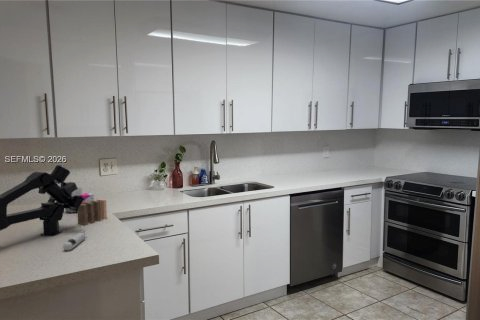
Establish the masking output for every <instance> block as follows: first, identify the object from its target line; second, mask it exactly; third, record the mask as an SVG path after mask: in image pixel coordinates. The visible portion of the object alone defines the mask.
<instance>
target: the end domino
mask: <svg viewBox="0 0 480 320" xmlns="http://www.w3.org/2000/svg"><path fill="white" fill-rule="evenodd" d="M96 201H100V214H101V220H104V219H105V220H107V219H108V218H107V217H108V215H107V200H106V199H104V198H102V199H101V198H99V199H96Z"/></svg>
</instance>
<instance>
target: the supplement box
mask: <svg viewBox="0 0 480 320" xmlns="http://www.w3.org/2000/svg"><path fill="white" fill-rule="evenodd" d="M79 196H82V197H84V200H83V202H82V203H81V204H84V202H90V201H95V198H94V197H95V195H94V193H90V192H88V193H82V194H80V195H79Z"/></svg>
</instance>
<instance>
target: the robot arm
mask: <svg viewBox="0 0 480 320" xmlns="http://www.w3.org/2000/svg"><path fill="white" fill-rule="evenodd" d="M70 174H71V172H70V170H69V169H67V168H65V167H63V166H62V165H59V164H57V165H56V166H55V168H54V169H53V170H52V171H51V173H48V172H46V171H33V172H32V173H31V174H29V175H28V176H27V177H26V178H25V180H24V181H22V182H20V183H19V184H17V185H16V186H14V187H11V188H10V189H8V190H6V191H4V192H3V193H1V194H0V232H1V231H3V230H5V229H8V228H9V227H10V226H11V225H14V224H15V225H16V224H19V223H24V222H28V221H32V220H36V219H39V221H42V226H43V227H42V229H43V230H42V231H43V232H42V233H40V234H39V235H40V236H49V237H50V236H56V235H58V234H60V233H62V232H63V230H61V229H60V224H59V221H62V220H63V216H64V212H65V209H69V210H73V211H78V208H79V206H80V205H81V203H82V202H83V200H84V197H82V196H79V195H75V196H74V197H73V196H71V195H72V192H73V191H75V190H77V189H78V188H79V187H78V186H77V184H76V182H72V181H69V182H65V181H66V179H67V178H68V177H69V176H70ZM36 189H38V192H37V193H38V194H39V195H40V194H41V195H45V194H47V195H48V196H49V199H48V200H47V201H46V202H41V203H40V206H39V207H38V208H32V209H27V210H23V211H18V212H13V213H8V209H7V208H8V204H10V203H12V202H14V201H15V200H18V199H19V198H21V197H22V196H25V195H26V194H27V193H29V192H30V191H31V192H32V191H33V190H36ZM7 213H8V214H7Z"/></svg>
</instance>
